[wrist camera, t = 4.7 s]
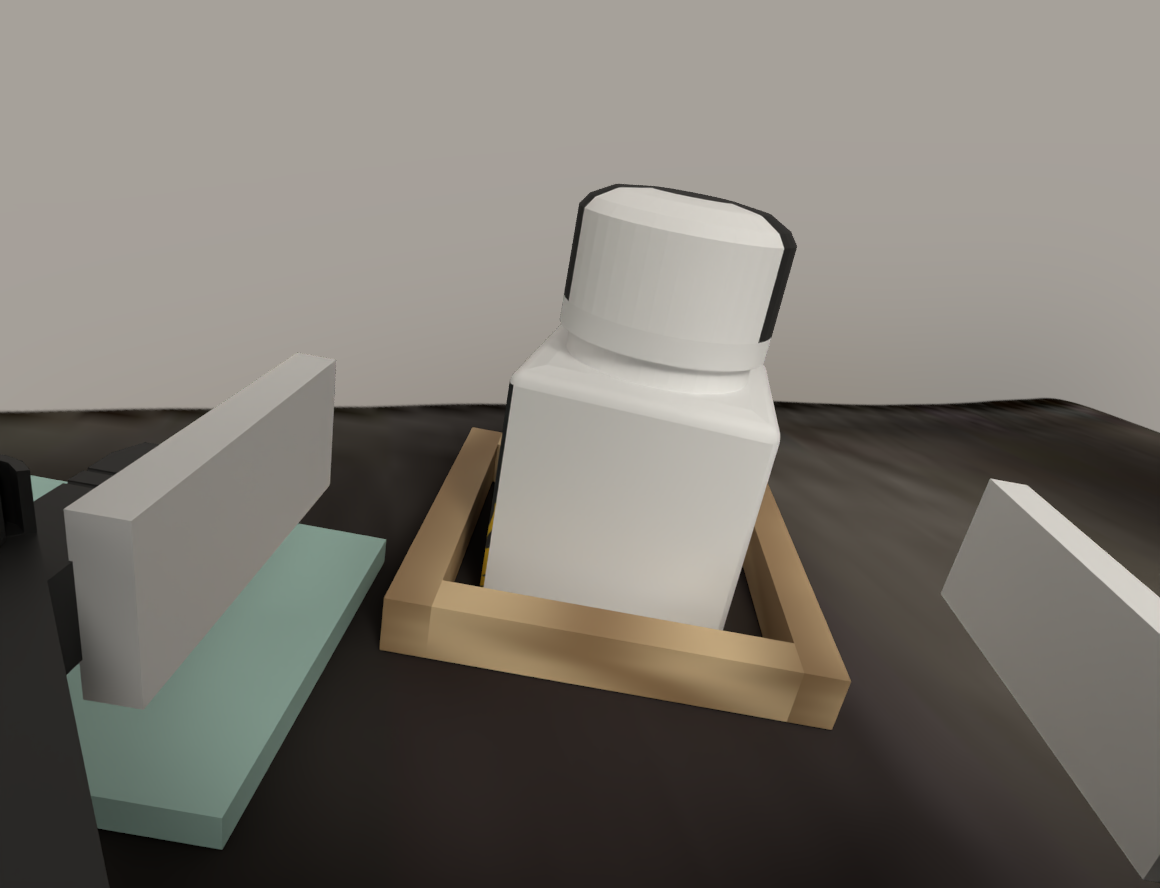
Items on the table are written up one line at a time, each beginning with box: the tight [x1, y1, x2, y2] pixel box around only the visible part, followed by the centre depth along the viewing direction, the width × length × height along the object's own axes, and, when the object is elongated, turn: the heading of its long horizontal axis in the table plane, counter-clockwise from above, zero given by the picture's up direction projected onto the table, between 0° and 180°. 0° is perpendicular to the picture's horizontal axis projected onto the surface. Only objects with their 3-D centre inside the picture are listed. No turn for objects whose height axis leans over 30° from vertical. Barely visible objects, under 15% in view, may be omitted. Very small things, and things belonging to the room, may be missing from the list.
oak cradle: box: [379, 427, 851, 730], centre depth 25 cm, size 12×12×2 cm
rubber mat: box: [30, 475, 386, 850], centre depth 18 cm, size 13×10×1 cm
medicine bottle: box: [480, 184, 797, 631], centre depth 23 cm, size 7×7×12 cm
